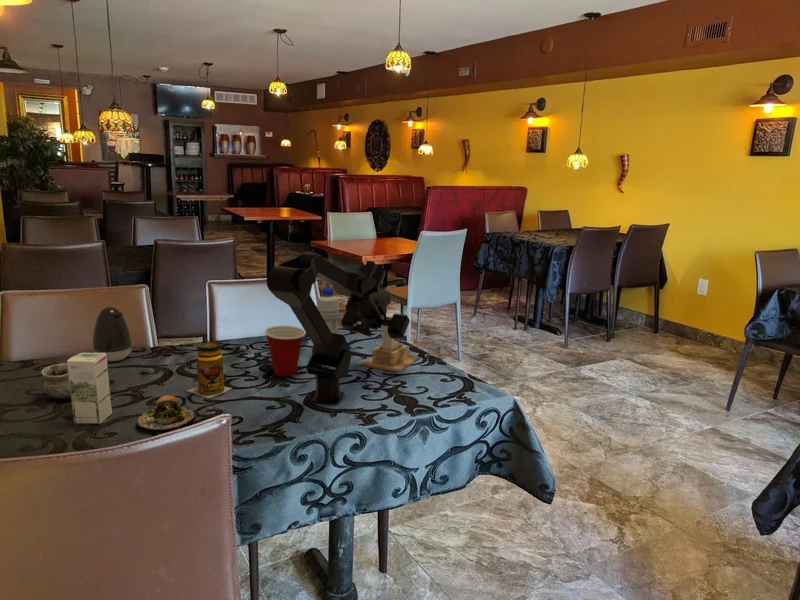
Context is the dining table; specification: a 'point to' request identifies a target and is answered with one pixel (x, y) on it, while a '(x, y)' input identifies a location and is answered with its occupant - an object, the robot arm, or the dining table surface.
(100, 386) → the syrup box
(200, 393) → the condiment
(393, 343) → the tan rectangular block
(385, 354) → the wooden socket base
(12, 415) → the dining table surface
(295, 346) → the plastic cup
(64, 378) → the mug
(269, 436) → the dining table surface
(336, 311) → the bottle
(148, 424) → the burger
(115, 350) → the dark grey egg shape
